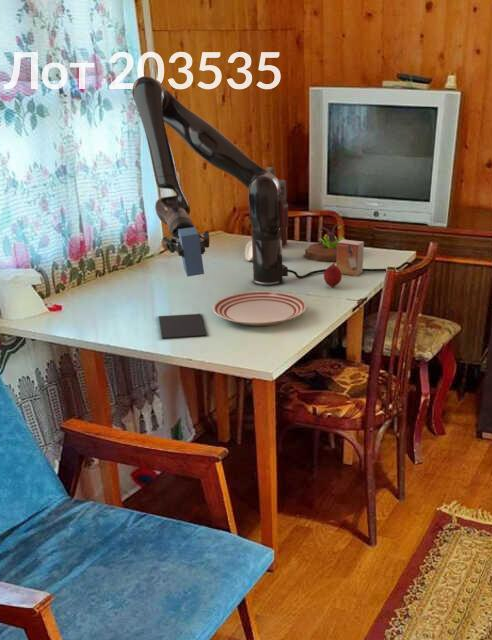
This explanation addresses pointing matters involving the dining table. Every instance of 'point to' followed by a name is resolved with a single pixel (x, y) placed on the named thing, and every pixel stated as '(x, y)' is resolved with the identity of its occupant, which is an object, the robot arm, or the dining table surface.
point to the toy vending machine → (282, 208)
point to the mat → (181, 326)
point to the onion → (332, 275)
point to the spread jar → (250, 254)
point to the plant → (325, 247)
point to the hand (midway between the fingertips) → (192, 252)
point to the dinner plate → (260, 308)
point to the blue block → (191, 251)
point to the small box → (350, 257)
